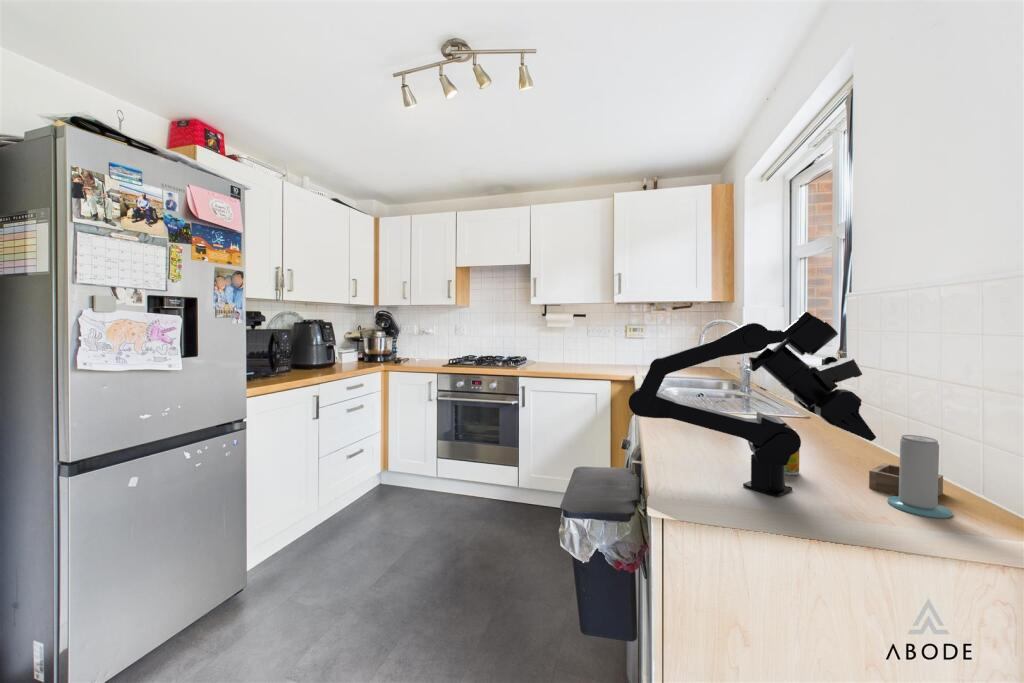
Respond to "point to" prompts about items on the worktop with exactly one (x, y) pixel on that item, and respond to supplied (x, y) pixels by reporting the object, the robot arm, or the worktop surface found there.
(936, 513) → the teal disc
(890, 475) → the square wooden frame
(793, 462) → the supplement bottle
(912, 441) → the beverage can
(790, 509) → the worktop surface
